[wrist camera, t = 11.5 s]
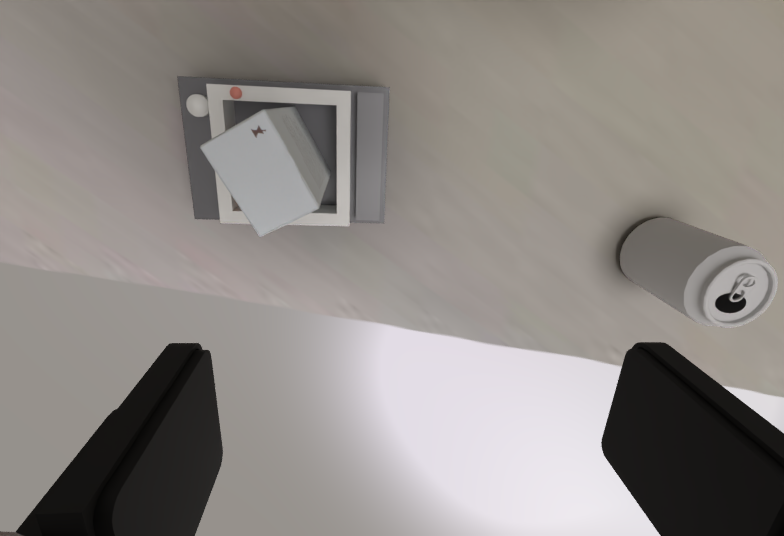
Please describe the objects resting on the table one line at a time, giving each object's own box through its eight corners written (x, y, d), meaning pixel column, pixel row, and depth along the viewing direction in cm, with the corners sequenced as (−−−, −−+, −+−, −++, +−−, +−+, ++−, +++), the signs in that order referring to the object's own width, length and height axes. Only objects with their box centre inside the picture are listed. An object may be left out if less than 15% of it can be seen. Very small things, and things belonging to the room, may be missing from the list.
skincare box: (248, 130, 34) (194, 143, 22) (295, 105, 33) (264, 105, 22) (288, 198, 36) (258, 240, 25) (333, 175, 35) (322, 207, 24)
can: (603, 274, 46) (682, 328, 35) (632, 208, 44) (727, 243, 33) (663, 286, 48) (758, 342, 36) (695, 223, 45) (806, 262, 34)
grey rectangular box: (385, 89, 38) (392, 85, 30) (381, 210, 42) (386, 233, 34) (199, 79, 37) (158, 73, 29) (213, 205, 40) (180, 229, 33)
